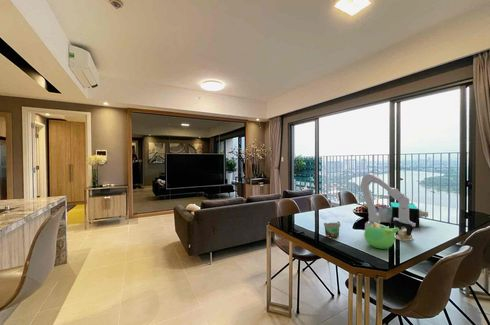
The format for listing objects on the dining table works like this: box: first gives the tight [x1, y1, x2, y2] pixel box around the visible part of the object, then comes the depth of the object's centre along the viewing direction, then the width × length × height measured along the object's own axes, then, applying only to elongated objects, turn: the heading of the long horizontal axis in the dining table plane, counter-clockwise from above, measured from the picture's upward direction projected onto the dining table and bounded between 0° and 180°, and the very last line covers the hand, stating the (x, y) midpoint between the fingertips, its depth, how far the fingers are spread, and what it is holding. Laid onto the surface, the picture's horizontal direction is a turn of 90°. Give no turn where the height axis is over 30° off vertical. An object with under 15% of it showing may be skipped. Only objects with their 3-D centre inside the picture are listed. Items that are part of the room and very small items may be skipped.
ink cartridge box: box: [376, 204, 391, 223], centre depth 187 cm, size 10×6×14 cm, turn 78°
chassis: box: [395, 234, 415, 242], centre depth 146 cm, size 10×6×2 cm, turn 101°
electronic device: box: [389, 201, 429, 229], centre depth 182 cm, size 25×25×15 cm
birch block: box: [397, 228, 411, 239], centre depth 146 cm, size 6×4×5 cm, turn 101°
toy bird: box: [364, 222, 399, 250], centre depth 132 cm, size 18×17×15 cm
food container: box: [323, 221, 341, 239], centre depth 150 cm, size 12×6×10 cm, turn 105°
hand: (404, 233), depth 146 cm, fingers open, 6 cm apart
